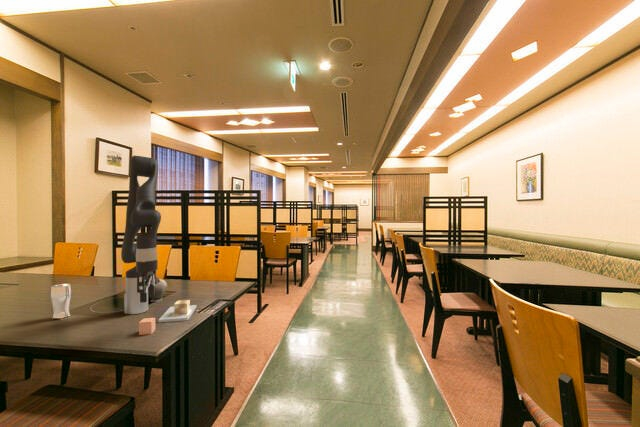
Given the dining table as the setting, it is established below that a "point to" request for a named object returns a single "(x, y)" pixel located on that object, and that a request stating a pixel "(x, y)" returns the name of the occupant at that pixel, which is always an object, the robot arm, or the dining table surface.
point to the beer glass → (61, 300)
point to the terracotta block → (146, 326)
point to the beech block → (182, 307)
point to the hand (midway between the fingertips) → (147, 299)
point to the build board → (170, 316)
